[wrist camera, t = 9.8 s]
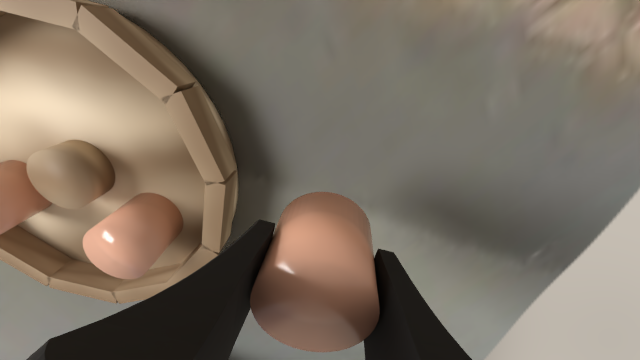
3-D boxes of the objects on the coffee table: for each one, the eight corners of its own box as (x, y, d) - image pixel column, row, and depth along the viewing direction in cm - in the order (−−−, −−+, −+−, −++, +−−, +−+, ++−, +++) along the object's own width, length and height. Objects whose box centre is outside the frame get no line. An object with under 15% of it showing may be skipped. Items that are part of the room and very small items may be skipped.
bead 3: (379, 260, 13) (391, 345, 9) (295, 274, 14) (276, 357, 10) (358, 182, 11) (362, 248, 8) (264, 203, 12) (229, 272, 9)
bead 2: (183, 199, 20) (146, 235, 16) (183, 244, 22) (150, 285, 18) (126, 186, 20) (77, 219, 16) (131, 232, 22) (88, 271, 18)
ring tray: (280, 251, 22) (272, 278, 20) (73, 289, 27) (45, 316, 24) (135, -74, 14) (89, -98, 12) (-129, 57, 18) (-205, 60, 16)
